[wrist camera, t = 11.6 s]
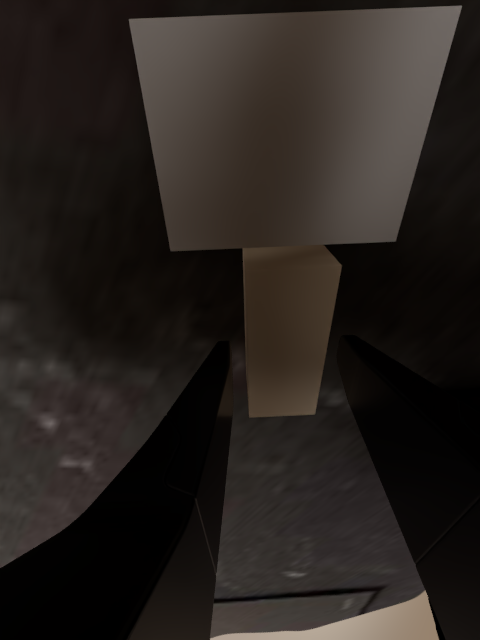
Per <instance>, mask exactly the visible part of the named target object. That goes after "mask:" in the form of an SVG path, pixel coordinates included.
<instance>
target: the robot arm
mask: <svg viewBox="0 0 480 640" xmlns="http://www.w3.org/2000/svg"><path fill="white" fill-rule="evenodd" d="M337 363H338V367H339V371H340V374H341V378H342V381H343V385H344V388H345V392H346V396H347V399H348V402H349V405H350V407H351V410H352V412H353V415H354V417H355V420H356V422H357V425H358V427H359V429H360V432H361V434H362V437H363V439H364V442H365V444H366V446H367V449H368V451H369V454H370V456H371V459H372V461H373V463H374V466H375V468H376V471H377V473H378V476H379V478H380V480H381V483H382V485H383V488H384V490H385V493H386V495H387V497H388V500H389V502H390V505H391V507H392V510H393V512H394V514H395V517H396V519H397V522H398V524H399V527H400V529H401V531H402V534H403V536H404V539H405V541H406V544H407V546H408V548H409V551H410V553H411V556H412V558H413V561H414V563H415V564H416V568H417V571H418V573H419V576H420V578H421V581H422V583H423V585H424V588H425V590H426V593H427V595H428V597H429V598H428V600H429V604H430V607H431V610H432V614H433V617H434V621H435V624H436V630H437V633H438V637H439V640H480V390H468V391H448V392H445V391H444V390H442V389H440V388H439V387H437V386H436V385H434V384H432V383H431V382H429V381H428V380H426V379H424V378H423V377H421V376H420V375H418V374H416V373H415V372H413V371H411V370H410V369H408V368H407V367H405V366H403V365H402V364H400V363H399V362H397V361H395V360H394V359H392V358H391V357H389V356H387V355H386V354H384V353H383V352H381V351H379V350H378V349H376V348H374V347H373V346H371V345H370V344H368V343H366V342H365V341H363V340H362V339H360V338H358V337H357V336H355V335H343V336H341V338H340V341H339V346H338V350H337ZM232 416H233V372H232V352H231V342H230V341H219V342H217V344H216V345H215V346H214V348H213V349H212V351H211V352H210V354H209V355H208V356H207V358H206V359H205V361H204V362H203V363H202V365H201V366H200V368H199V369H198V370H197V372H196V373H195V375H194V376H193V377H192V379H191V380H190V382H189V383H188V385H187V386H186V387H185V389H184V390H183V392H182V393H181V394H180V396H179V397H178V399H177V400H176V401H175V403H174V404H173V406H172V407H171V408H170V410H169V411H168V413H167V415H166V416H165V417H164V418H163V420H162V421H161V422H160V424H159V425H158V427H157V428H156V429H155V431H154V432H153V433H152V435H151V436H150V437H149V439H148V440H147V441H146V442H145V444H144V445H143V446H142V447H141V448H140V449H139V451H138V452H137V453H136V454H135V455H134V457H133V458H132V459H131V460H130V461H129V462H128V463H127V465H126V466H125V467H124V468H123V469H122V470H121V471H120V473H119V474H118V475H117V476H116V477H115V478H114V479H113V481H112V482H111V483H110V484H109V485H108V486H107V487H106V488H105V490H104V491H103V492H102V493H101V494H100V495H99V496H98V498H97V499H96V500H95V501H94V502H93V503H92V504H91V505H90V506H89V507H88V509H87V510H86V511H85V512H84V513H82V514H81V515H80V516H79V517H78V518H77V519H76V520H75V521H74V522H72V523H71V524H70V525H69V526H68V527H66V528H65V529H64V530H62V531H61V532H59V533H58V534H56V535H55V536H53V537H51V538H50V539H48V540H46V541H45V542H43V543H41V544H40V545H38V546H36V547H35V548H33V549H32V550H30V551H28V552H27V553H25V554H23V555H22V556H20V557H18V558H17V559H15V560H13V561H12V562H10V563H8V564H7V565H5V566H3V567H2V568H0V640H210V632H211V622H212V612H213V602H214V593H215V583H216V572H217V563H218V553H219V543H220V533H221V524H222V514H223V504H224V494H225V485H226V475H227V465H228V455H229V446H230V436H231V426H232Z"/></svg>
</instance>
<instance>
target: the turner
mask: <svg viewBox="0 0 480 640" xmlns="http://www.w3.org/2000/svg"><path fill="white" fill-rule="evenodd" d="M461 8H462V6H441V7H416V8H391V9H366V10H341V11H316V12H291V13H267V14H242V15H217V16H192V17H167V18H142V19H129V24H130V29H131V35H132V40H133V46H134V51H135V57H136V62H137V68H138V74H139V79H140V85H141V90H142V96H143V101H144V107H145V112H146V118H147V123H148V129H149V135H150V140H151V146H152V151H153V157H154V162H155V168H156V173H157V179H158V184H159V190H160V196H161V201H162V207H163V212H164V218H165V223H166V229H167V234H168V240H169V245H170V251H190V250H213V249H236V248H242V249H243V282H244V315H245V348H246V376H247V391H248V406H249V417H271V416H293V415H315V411H316V406H317V400H318V395H319V389H320V384H321V378H322V373H323V367H324V362H325V356H326V351H327V345H328V340H329V334H330V329H331V323H332V318H333V312H334V307H335V301H336V296H337V290H338V285H339V279H340V274H341V268H342V265H341V264H340V263H339V262H338V261H337V260H336V259H335V257H334V256H333V255H332V254H331V253H330V252H329V250H328V249H327V248H326V247H325V246H324V245H328V244H351V243H374V242H396V238H397V235H398V231H399V228H400V224H401V221H402V217H403V214H404V210H405V206H406V203H407V199H408V196H409V192H410V189H411V185H412V182H413V178H414V175H415V171H416V167H417V164H418V160H419V157H420V153H421V150H422V146H423V143H424V139H425V136H426V132H427V128H428V125H429V121H430V118H431V114H432V111H433V107H434V104H435V100H436V97H437V93H438V90H439V86H440V82H441V79H442V75H443V72H444V68H445V65H446V61H447V58H448V54H449V51H450V47H451V43H452V40H453V36H454V33H455V29H456V26H457V22H458V19H459V15H460V12H461Z"/></svg>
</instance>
